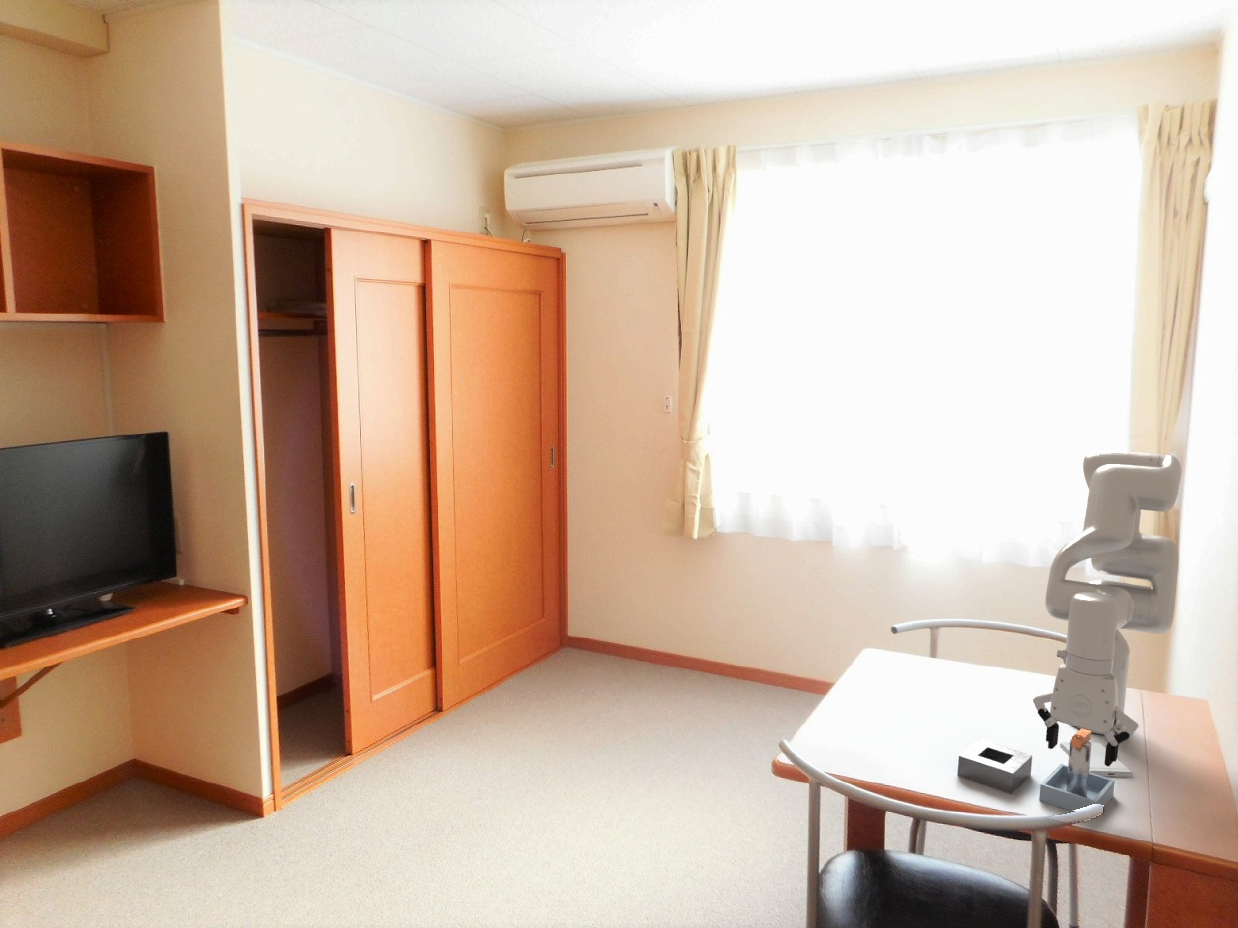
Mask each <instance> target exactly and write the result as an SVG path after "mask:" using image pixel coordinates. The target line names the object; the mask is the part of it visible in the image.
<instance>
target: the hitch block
mask: <svg viewBox="0 0 1238 928" xmlns="http://www.w3.org/2000/svg"><path fill="white" fill-rule="evenodd" d="M1032 762H1033V755H1032V754H1028V753H1026V752H1023V751H1019V750H1017V749H1013V748H1009V747H1006V746H1002V745H1000V744H996V743H994V742H991V741H987V740H984V739H981V738H979V739H978V740H977V741H975V742H973V744H972V745H970V746H969V747H968V748H966V749H965V750H964V751H963V752H961V753H960V754H958V763H957V776H958V777H960V778H964V779H966V780H969V781H971V782H976V783H977V784H978V783H979V784H981V785H984V786H987V787H989V788H993V789H995V790H998V791H1002V792H1004V793H1007V794H1010V795H1012V794H1013V793H1014V792H1016V790H1017V789H1019V787H1020V786H1021V785H1022V784H1023V783H1024V782H1026V781H1027V780H1028V779H1029V778H1030V776H1031V775H1032Z"/></svg>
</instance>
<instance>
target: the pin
mask: <svg viewBox="0 0 1238 928" xmlns="http://www.w3.org/2000/svg"><path fill="white" fill-rule="evenodd" d="M1091 738H1092V732H1091V731H1089V730H1086V729H1079V730H1078V731H1077V732H1075V734H1074V735H1072V736H1071V739H1070V741H1069V742H1070V751H1069V755H1068V764H1067V766H1068V774H1067V786H1066V791H1067V792H1070V793H1073V794H1076V795H1079V796H1083V797H1086V798H1087V791H1088V779H1089V768H1090V757H1091V745H1092V744H1091V743H1092V742H1090V740H1091Z"/></svg>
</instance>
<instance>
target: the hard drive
mask: <svg viewBox="0 0 1238 928" xmlns="http://www.w3.org/2000/svg"><path fill="white" fill-rule="evenodd" d="M1090 743H1091V744H1092V745H1091V757H1090V768H1089V772H1090V773H1093V774H1096V775H1099V776H1102V777H1105V776H1106V777H1128V778H1129V777H1131V778H1133V777H1134V772H1133V771H1132V770H1130V769H1129V768H1128V767H1127V766H1126V765H1125V764H1124V763H1123V762H1122V761H1120V759H1119V758H1117V760H1116V762H1114V761H1113V763H1112V764H1111V765H1110V766H1109V767H1108V766H1106V765H1105V764H1104V763H1105V753H1106V746H1104V745H1103V744H1102V743H1100V742H1090ZM1059 747H1060V748H1061V749H1062V750H1063V751H1064V752H1065V753H1066V754H1067V755H1068V756H1069V751H1070V741H1062V742H1060V746H1059Z"/></svg>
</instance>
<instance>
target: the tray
mask: <svg viewBox="0 0 1238 928" xmlns="http://www.w3.org/2000/svg"><path fill="white" fill-rule="evenodd" d="M1067 774H1068V764H1067V765H1066V764H1064V763H1060V764H1059V765H1058V766H1057V767H1056V768H1054V770H1053V771H1052V772H1051V773H1050V774H1049V775H1048V776H1047V777H1046V778H1045V779H1044V780H1043V781H1042V782H1041V783H1040V785H1039V786H1040V787H1039V796H1038V800H1039V801H1042V802H1044V803H1047V804H1050V805H1053V806H1056V807H1059V808H1063V809H1064V810H1068V811H1071V812H1073V811H1072V810H1076V809H1080V808H1083V807H1087V806H1089V805H1092V804H1101V805H1104V808H1105V807H1106V805H1107V804H1108V803H1109V802H1110V800H1111V799H1112V798H1113V796H1114V790H1115V779H1113V778H1112V779H1111V778H1108V777H1107V776H1106V777H1105V776H1099V775H1096V774H1093V773H1090V772H1089V779H1088V791H1087V798H1086V797H1083V796H1079V795H1076V794H1073V793H1070V792H1067V791H1066V786H1067Z"/></svg>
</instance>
